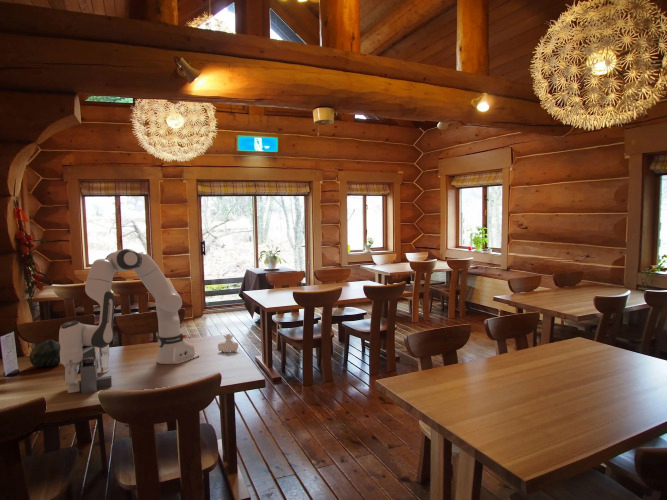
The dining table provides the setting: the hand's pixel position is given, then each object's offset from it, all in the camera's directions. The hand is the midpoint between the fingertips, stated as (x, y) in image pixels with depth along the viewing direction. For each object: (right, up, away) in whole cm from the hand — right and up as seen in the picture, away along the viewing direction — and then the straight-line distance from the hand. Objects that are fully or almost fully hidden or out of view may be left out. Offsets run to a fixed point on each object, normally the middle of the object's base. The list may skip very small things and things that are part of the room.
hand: (72, 387), depth 196 cm
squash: (-35, 0, +35) cm, 50 cm away
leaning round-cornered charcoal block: (-12, 0, +31) cm, 33 cm away
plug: (+6, -2, +3) cm, 7 cm away
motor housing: (+6, -2, +3) cm, 7 cm away
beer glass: (0, 0, +26) cm, 26 cm away
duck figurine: (+57, +3, +57) cm, 81 cm away
